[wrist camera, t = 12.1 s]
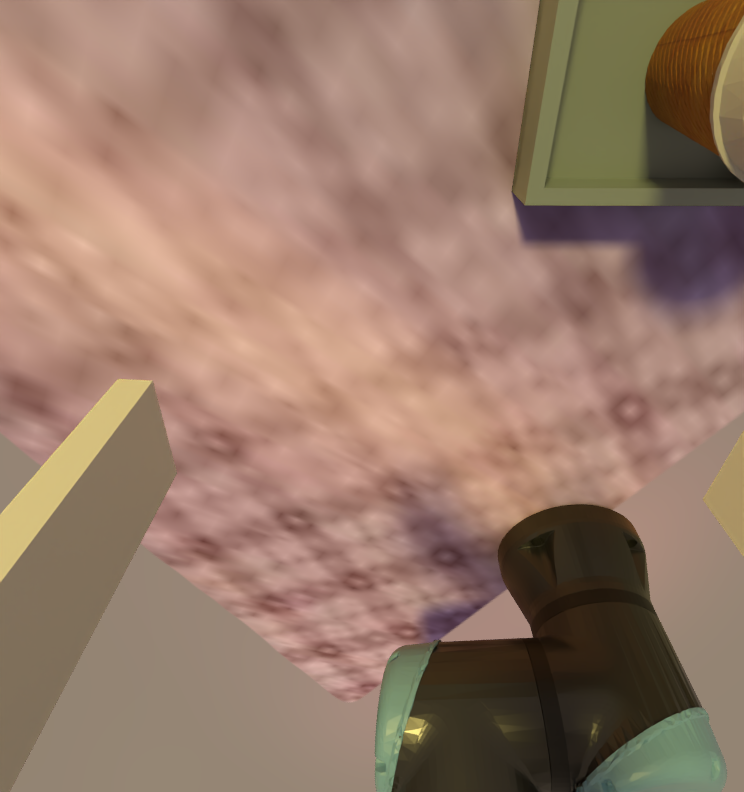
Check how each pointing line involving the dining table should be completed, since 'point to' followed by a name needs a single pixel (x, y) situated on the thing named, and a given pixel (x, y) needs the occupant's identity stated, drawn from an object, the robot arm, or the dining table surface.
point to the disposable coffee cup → (703, 79)
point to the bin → (608, 115)
